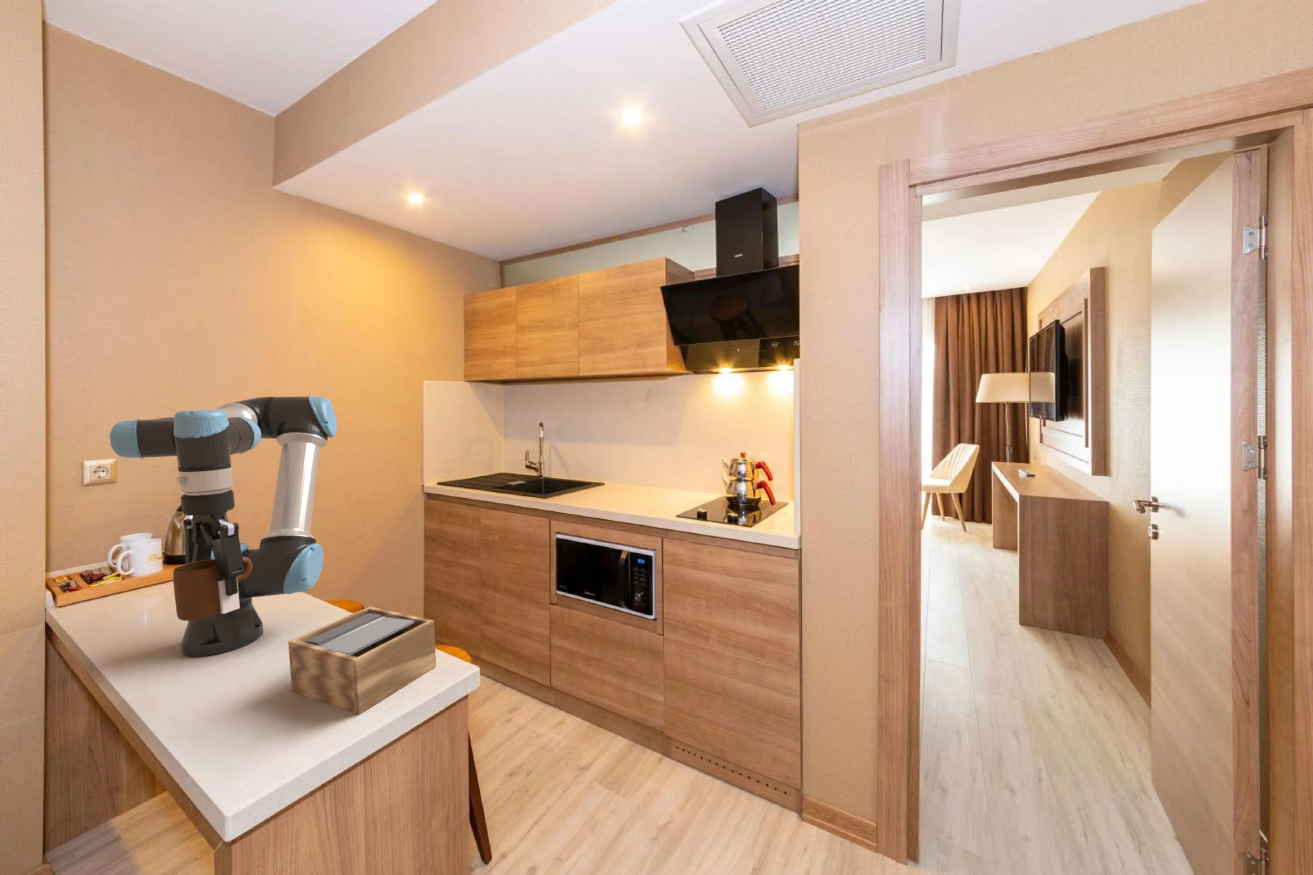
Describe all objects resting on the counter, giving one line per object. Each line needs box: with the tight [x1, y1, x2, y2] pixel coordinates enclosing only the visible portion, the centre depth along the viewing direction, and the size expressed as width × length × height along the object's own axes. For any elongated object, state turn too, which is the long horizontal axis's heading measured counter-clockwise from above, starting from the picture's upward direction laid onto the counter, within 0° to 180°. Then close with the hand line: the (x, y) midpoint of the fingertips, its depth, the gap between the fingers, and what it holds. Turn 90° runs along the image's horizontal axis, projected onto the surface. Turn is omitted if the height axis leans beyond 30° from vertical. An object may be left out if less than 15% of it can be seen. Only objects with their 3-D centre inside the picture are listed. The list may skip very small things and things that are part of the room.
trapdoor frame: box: [287, 606, 437, 716], centre depth 105 cm, size 20×18×10 cm
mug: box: [172, 557, 253, 622], centre depth 97 cm, size 12×8×9 cm, turn 152°
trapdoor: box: [306, 613, 415, 655], centre depth 105 cm, size 14×15×4 cm
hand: (218, 606), depth 97 cm, fingers closed on mug, 7 cm apart
